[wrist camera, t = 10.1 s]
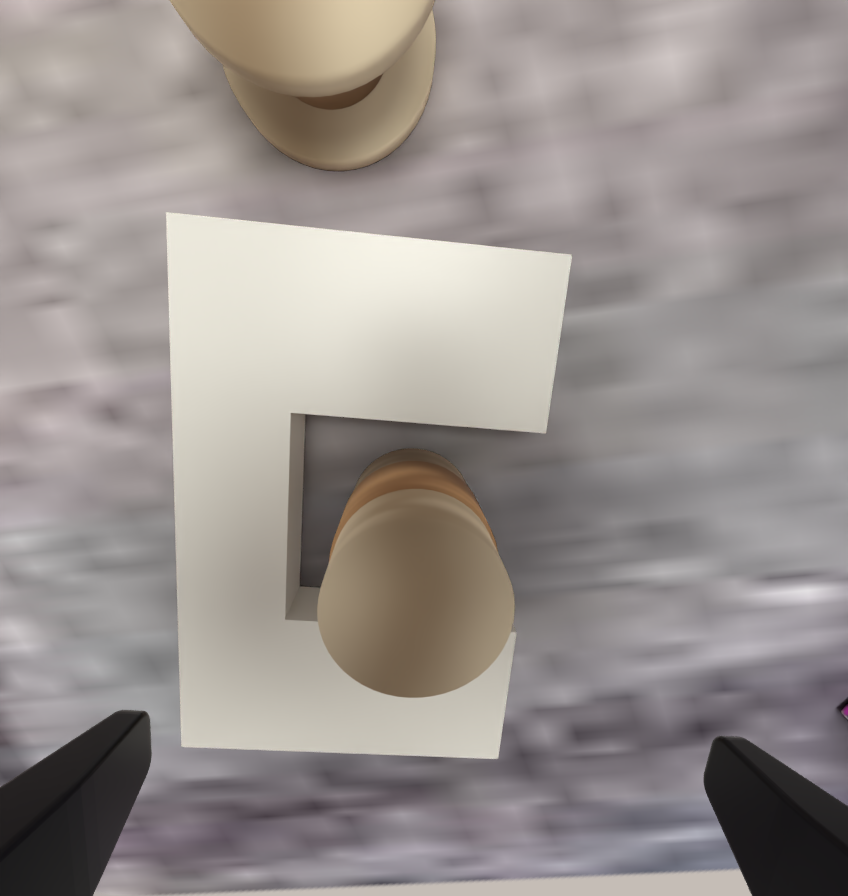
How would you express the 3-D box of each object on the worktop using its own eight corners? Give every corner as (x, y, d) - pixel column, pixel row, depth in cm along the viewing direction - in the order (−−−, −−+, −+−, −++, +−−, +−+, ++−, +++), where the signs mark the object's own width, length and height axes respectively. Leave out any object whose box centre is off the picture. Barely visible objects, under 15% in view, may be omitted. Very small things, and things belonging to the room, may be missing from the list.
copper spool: (479, 451, 19) (531, 523, 11) (465, 566, 20) (504, 705, 12) (353, 441, 19) (317, 508, 11) (346, 558, 20) (309, 696, 12)
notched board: (548, 267, 18) (572, 254, 15) (487, 712, 22) (497, 758, 19) (200, 231, 17) (166, 212, 14) (207, 700, 21) (181, 746, 19)
